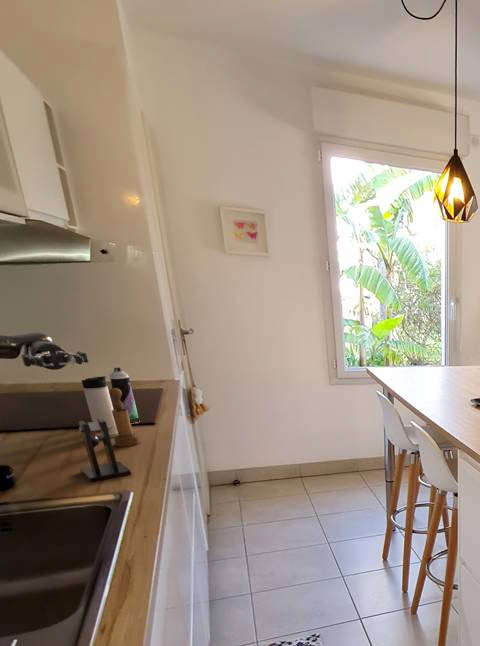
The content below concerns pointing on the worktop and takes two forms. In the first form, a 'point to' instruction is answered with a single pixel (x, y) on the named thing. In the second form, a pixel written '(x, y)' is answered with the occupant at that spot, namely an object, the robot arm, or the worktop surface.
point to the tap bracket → (95, 470)
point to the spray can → (124, 391)
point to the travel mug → (100, 403)
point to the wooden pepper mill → (122, 422)
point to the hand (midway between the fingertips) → (60, 361)
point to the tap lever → (93, 432)
